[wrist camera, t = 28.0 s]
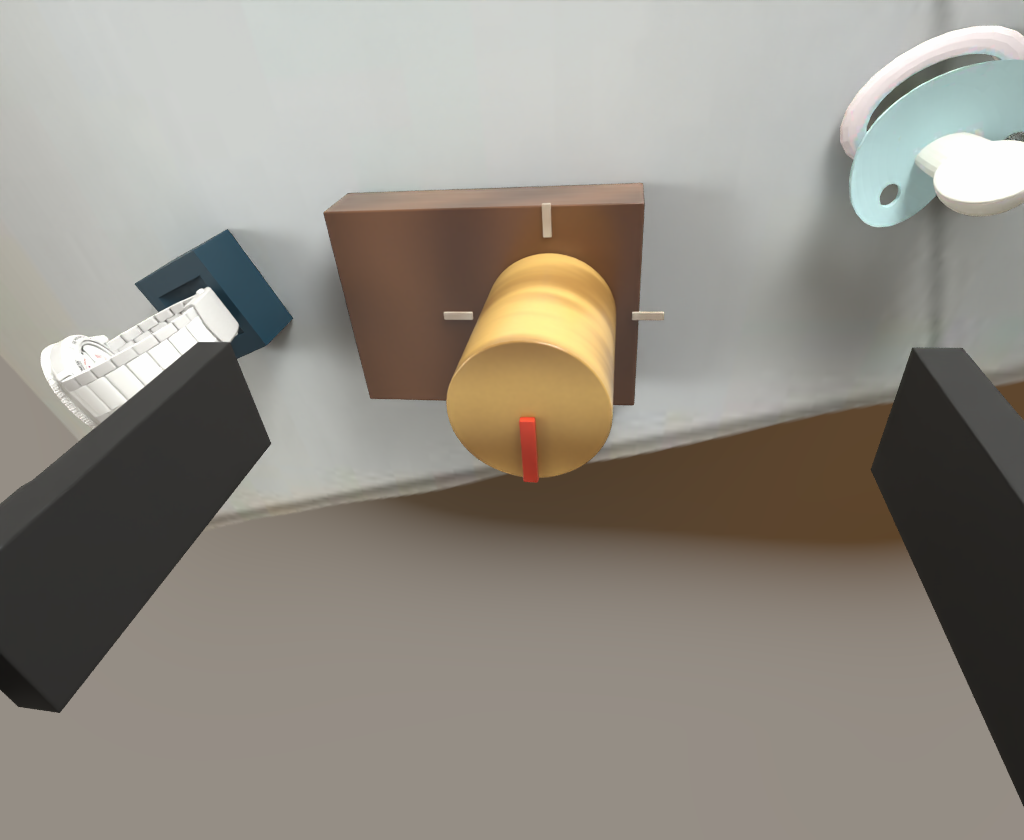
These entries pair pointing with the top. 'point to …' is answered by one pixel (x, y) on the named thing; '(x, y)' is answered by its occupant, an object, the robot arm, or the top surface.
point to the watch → (168, 328)
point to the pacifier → (941, 131)
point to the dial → (538, 370)
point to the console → (473, 270)
